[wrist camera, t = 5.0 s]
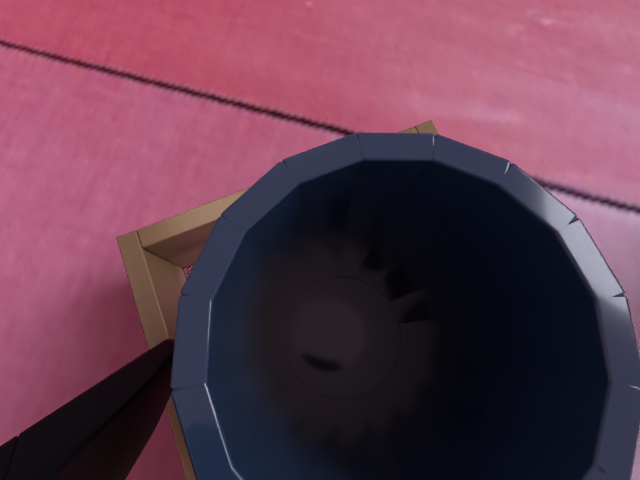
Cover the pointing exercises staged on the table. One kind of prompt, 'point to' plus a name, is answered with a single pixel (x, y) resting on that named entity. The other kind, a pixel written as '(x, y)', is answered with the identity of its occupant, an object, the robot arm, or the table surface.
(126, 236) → the crate
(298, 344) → the tumbler
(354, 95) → the table surface
